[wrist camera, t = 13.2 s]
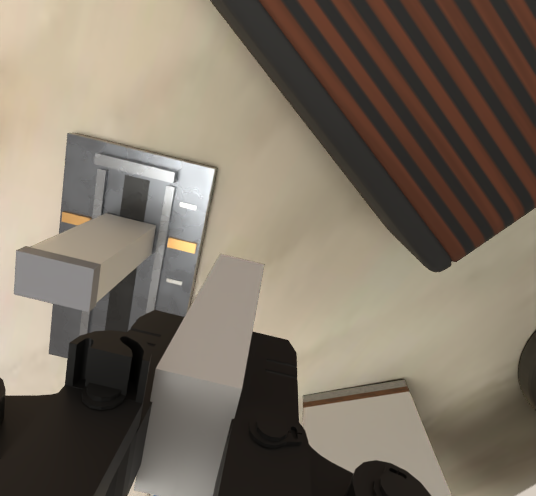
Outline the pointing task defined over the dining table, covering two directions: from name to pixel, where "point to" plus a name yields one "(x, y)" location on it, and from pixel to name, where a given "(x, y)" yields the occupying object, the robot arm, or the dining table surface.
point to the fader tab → (83, 261)
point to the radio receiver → (412, 106)
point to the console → (140, 209)
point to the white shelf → (373, 431)
